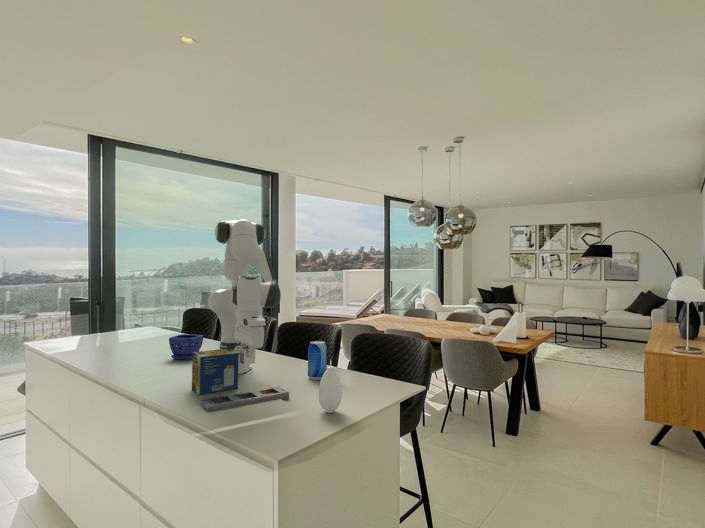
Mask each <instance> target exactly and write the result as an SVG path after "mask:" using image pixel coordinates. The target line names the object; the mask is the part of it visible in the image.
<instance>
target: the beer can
mask: <svg viewBox="0 0 705 528" xmlns="http://www.w3.org/2000/svg"><path fill="white" fill-rule="evenodd" d="M309 342H310V343H309V345H308V347H307V377H308V378H309V379H310V380H312V381H321V379H322V377H323V375H324V373H325V371H326V370H327V367H328V365H327V364H328V363H327V362H328V346H327V345H326V342H325V341H322V340H314V341H309Z"/></svg>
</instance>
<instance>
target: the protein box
mask: <svg viewBox="0 0 705 528" xmlns="http://www.w3.org/2000/svg"><path fill="white" fill-rule="evenodd" d="M238 360H239V353H237V352H235V351H234V350H232V349H230V348H227V349H220V348H219V349H210V350H209V349H208V350H201V351H200V350H199V352H192V359H191V363H192V364H191V365H192V367H191V392H192V391H193V393H195V394H196V395H198V396H203V395H209V394H215V393H221V392H222V393H223V392H227V391H233V390H238V389H239V374H238Z"/></svg>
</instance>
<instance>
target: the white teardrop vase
mask: <svg viewBox="0 0 705 528" xmlns="http://www.w3.org/2000/svg"><path fill="white" fill-rule="evenodd" d="M342 393H343V388H342V384H341V380H340V377H339V374H338V372H337V371H336V370H335V366H333V365H332V359H330V362H329V366H327V370H326V371H325V373H324V375H323V377H322V379H321V380H320V382H319V385H318V400H319V404H320V407H321V409H323V410H324V412H325V413H328V414H333V413H334V412H336V410H338V408H339V406H340V404H341V402H342V396H343V395H342Z"/></svg>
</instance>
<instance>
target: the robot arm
mask: <svg viewBox="0 0 705 528" xmlns="http://www.w3.org/2000/svg"><path fill="white" fill-rule="evenodd" d="M216 223H217V224H216V225H215V228H214V236H215V238H216V241H217V242H218V243H220V244H223V245H225V246H226V247H225V251H224V261H223V263H224V264H223V275H224V277H225V279H227V280H229V281H230V283H231V288H221V289H218V290H214V291H212V292H211V293H210V294H209V296H208V298H207V303H208V307H209V309H210V310H211V311H212V312H213V313H215V314H216V316H217V318H218V319H219V323H220V327H221V329H220V330H221V331H220V332H221V335H220V336H221V339H220V340H221V341H220V343H219V349H227V348H230V349H232V350H234V351H235V352H237V353H239V360H238V375H239V374H240V375H241V374H245V373H246V372H248V371H251V370H252V369H253V366H252V365H251V364H246V365H243V364H242V363H240V347H246V346H248V349H249V352H248V356H247V357H248V358H253V357H254V351H255V352H256V349H261V348H263V346H264V342H265V341H264V340H265V326H266V318H264V317H263V315H262V308H269V309H270V308H271V309H273V308H275V307H276V306H277V305H278V304H280V302H281V299H282V293H281V288H280V286H279V284H278V281H277V278H276V276H275V272H274V270H273V266H272V263H271V261H270V258H269V256H268V254H267V251H265V250H263V249H262V248H261V247H260V245H262V244H263V243H264V240H265V239H266V230H265V226H264V225H263V224H262V223H260V222H251V221H250V220H248V219H238V220H220V221H219V222H216ZM249 265H250V266H252V267H255V268H256V269H258V270H259V271H260V272H261V275H262V279H263V282H262V281H261V276H260V275H259V274H254V273H249Z"/></svg>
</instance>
